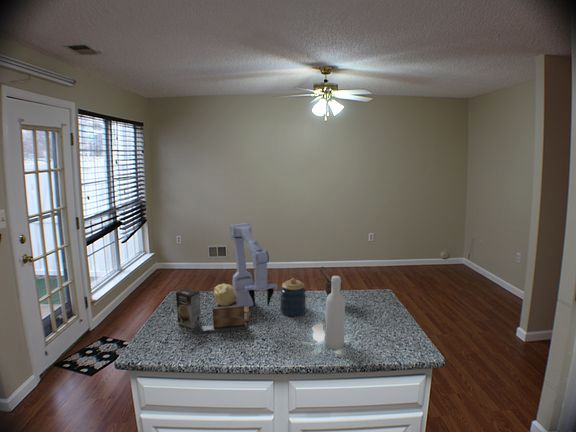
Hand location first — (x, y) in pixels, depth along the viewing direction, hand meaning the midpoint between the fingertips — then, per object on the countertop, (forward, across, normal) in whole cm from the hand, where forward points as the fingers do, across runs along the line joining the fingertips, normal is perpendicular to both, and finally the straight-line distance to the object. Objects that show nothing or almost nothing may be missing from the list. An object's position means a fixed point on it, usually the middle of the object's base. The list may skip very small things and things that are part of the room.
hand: (261, 304), depth 155 cm
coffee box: (+11, -33, +8) cm, 36 cm away
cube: (+10, -8, +8) cm, 15 cm away
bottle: (+11, +29, -21) cm, 37 cm away
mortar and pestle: (+11, +38, +16) cm, 43 cm away
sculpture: (+11, -17, +27) cm, 33 cm away
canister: (+11, +17, +11) cm, 23 cm away
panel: (+9, -15, 0) cm, 17 cm away
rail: (+10, -19, 0) cm, 22 cm away
